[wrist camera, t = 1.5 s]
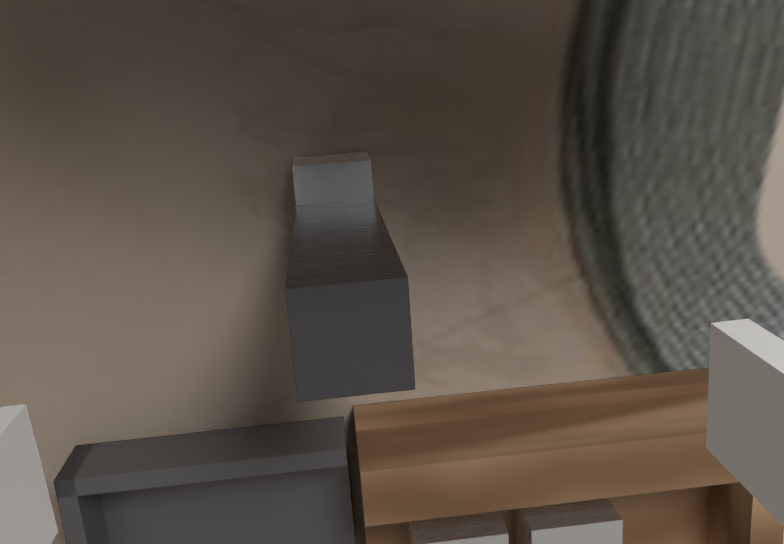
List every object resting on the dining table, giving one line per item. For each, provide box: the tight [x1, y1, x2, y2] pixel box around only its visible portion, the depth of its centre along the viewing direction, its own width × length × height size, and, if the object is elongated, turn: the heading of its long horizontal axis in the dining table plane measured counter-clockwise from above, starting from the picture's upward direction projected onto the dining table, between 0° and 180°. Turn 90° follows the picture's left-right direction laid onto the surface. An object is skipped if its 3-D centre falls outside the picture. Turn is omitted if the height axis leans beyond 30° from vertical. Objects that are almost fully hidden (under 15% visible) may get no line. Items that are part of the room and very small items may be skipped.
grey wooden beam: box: [285, 151, 415, 402], centre depth 25 cm, size 6×3×14 cm, turn 4°
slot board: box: [353, 368, 784, 544], centre depth 35 cm, size 13×18×5 cm
